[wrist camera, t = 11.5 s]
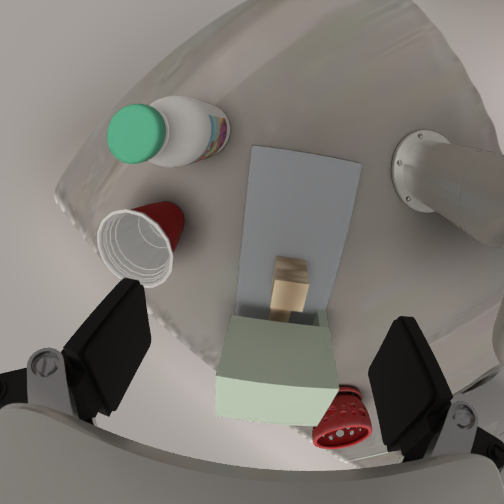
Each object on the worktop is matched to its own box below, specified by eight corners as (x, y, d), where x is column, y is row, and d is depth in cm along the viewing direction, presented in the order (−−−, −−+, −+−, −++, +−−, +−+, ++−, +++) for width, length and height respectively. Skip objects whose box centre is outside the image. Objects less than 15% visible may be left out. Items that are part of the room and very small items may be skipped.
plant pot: (304, 410, 58) (304, 450, 48) (321, 379, 53) (325, 425, 42) (351, 412, 58) (356, 450, 47) (373, 382, 52) (383, 424, 42)
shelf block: (325, 306, 45) (339, 388, 29) (311, 347, 49) (316, 426, 33) (237, 294, 45) (215, 375, 29) (232, 337, 50) (214, 415, 34)
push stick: (305, 259, 40) (309, 284, 34) (282, 354, 49) (281, 382, 43) (276, 255, 40) (275, 279, 34) (259, 351, 49) (256, 379, 43)
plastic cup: (140, 248, 44) (103, 284, 33) (135, 185, 39) (90, 207, 28) (200, 255, 43) (175, 298, 32) (200, 188, 38) (169, 212, 27)
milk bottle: (167, 129, 35) (75, 138, 17) (207, 93, 32) (136, 63, 14) (200, 168, 37) (129, 206, 19) (242, 133, 34) (201, 134, 16)
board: (359, 163, 34) (361, 164, 33) (308, 354, 50) (309, 358, 49) (252, 145, 35) (252, 145, 34) (232, 345, 50) (231, 348, 50)
